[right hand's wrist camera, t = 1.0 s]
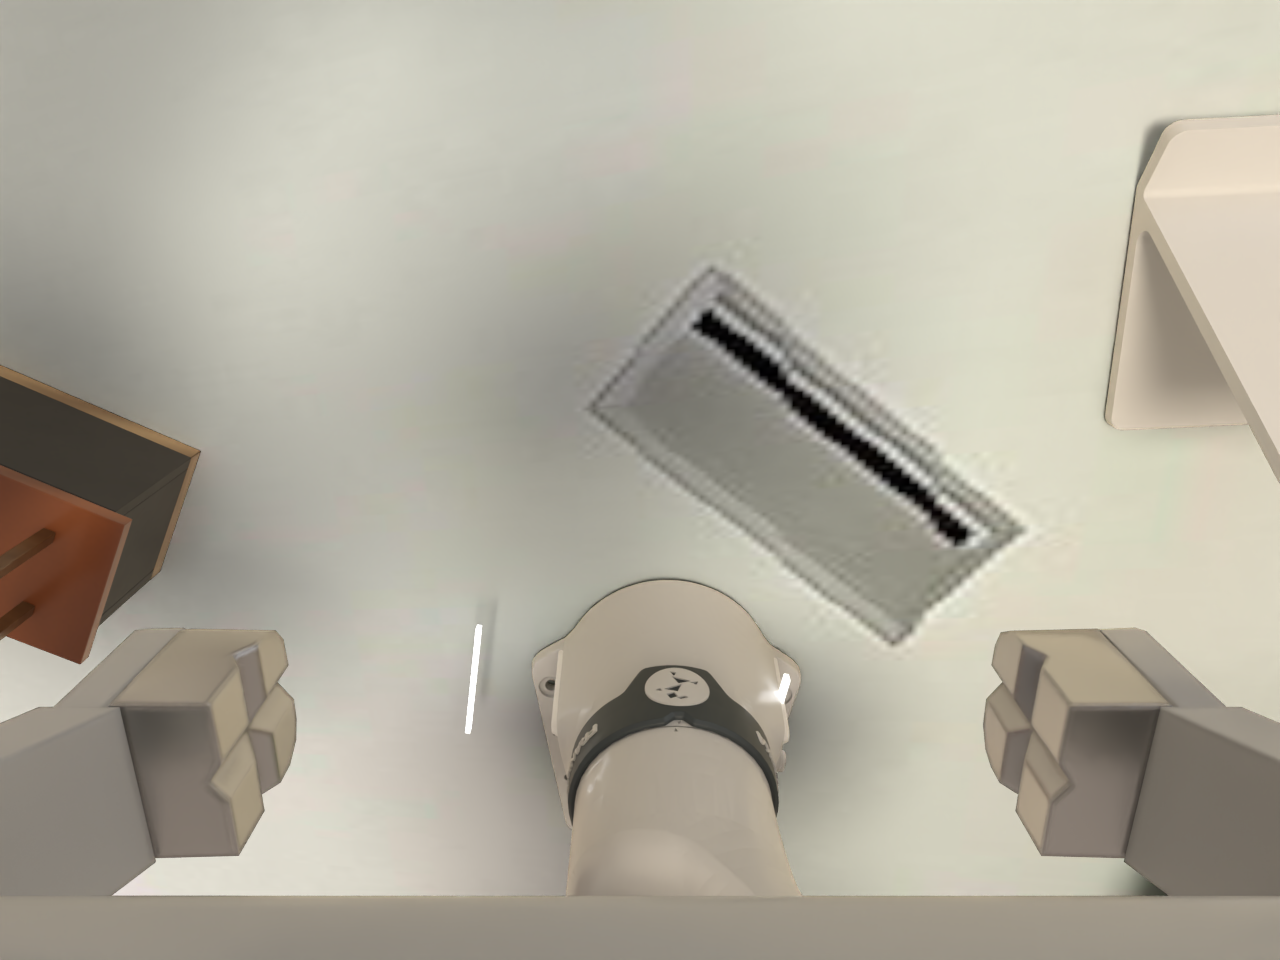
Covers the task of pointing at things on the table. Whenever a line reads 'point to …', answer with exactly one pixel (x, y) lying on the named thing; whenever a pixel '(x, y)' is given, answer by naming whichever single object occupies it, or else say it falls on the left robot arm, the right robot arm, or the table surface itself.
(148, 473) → the chest
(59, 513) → the lid
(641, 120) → the table surface
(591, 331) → the table surface
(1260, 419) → the tablet stand
